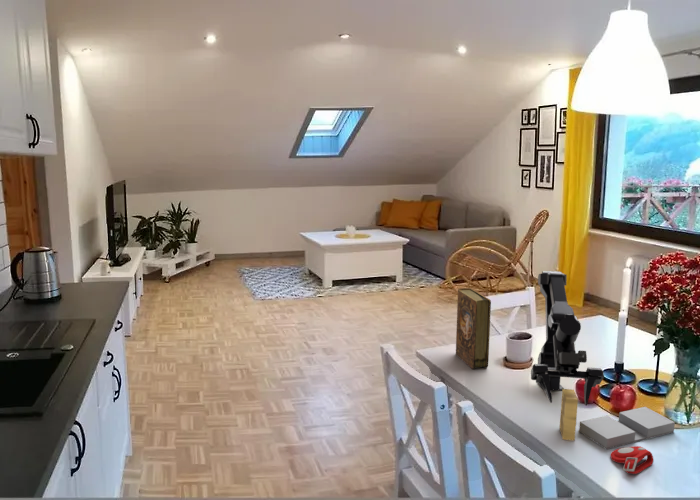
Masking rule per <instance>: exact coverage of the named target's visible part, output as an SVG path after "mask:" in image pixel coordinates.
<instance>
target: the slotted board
mask: <svg viewBox="0 0 700 500" xmlns="http://www.w3.org/2000/svg"><path fill="white" fill-rule="evenodd" d="M675 422H676V421H673V420H671V419H669V418H667V417H666V416H664V415H662V414H660V413H658V412H656V411H654V410H652V409H651V408H648V407H647V406H642V407H638V408H633V409H628V410H624V411H620V412H619V415H618V420H616V419H615V418H612V417H611V416H609V415H602V416H598V417H594V418H590V419H585V420H581V421H579V428H578V432H579V433H581V434H582V435H583V436H585V437H587V438H588V439H590V440H591V441H593V442H595V443H596V444H598V445H599V446H600V447H602V448H604V449H605V450H610V449H613V448H617V447H620V446H625V445H629V444H633V443H637V442H640V441H641V442H642V441H644V440H648V439H652V438H655V437H660V436H664V435H668V434H672V433H674V432H675V424H676V423H675Z"/></svg>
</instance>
